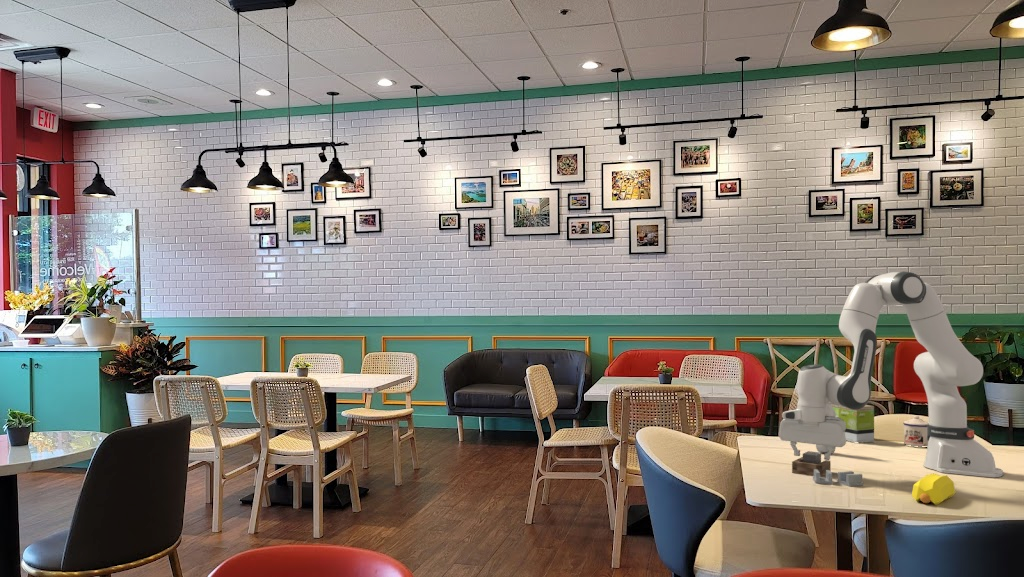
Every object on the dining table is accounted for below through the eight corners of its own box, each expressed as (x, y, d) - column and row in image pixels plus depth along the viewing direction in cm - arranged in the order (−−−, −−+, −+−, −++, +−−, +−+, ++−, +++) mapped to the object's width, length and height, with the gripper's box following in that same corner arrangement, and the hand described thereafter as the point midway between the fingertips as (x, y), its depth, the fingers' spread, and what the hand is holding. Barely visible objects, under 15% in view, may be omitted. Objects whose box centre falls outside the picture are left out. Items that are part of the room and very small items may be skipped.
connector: (824, 466, 241) (824, 450, 241) (815, 471, 233) (815, 455, 233) (812, 464, 243) (812, 449, 244) (802, 469, 236) (802, 453, 236)
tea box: (827, 437, 304) (827, 401, 304) (844, 436, 308) (844, 400, 308) (857, 443, 290) (856, 406, 290) (875, 442, 294) (875, 405, 294)
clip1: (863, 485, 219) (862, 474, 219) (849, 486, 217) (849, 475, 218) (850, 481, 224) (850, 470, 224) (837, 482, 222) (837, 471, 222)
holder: (830, 471, 237) (830, 460, 237) (821, 476, 230) (821, 465, 230) (802, 467, 243) (802, 457, 243) (792, 472, 235) (792, 461, 235)
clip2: (830, 480, 224) (830, 470, 225) (833, 484, 220) (833, 473, 220) (812, 479, 226) (812, 469, 226) (815, 483, 221) (815, 472, 221)
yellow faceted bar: (958, 497, 207) (928, 492, 212) (958, 473, 207) (928, 469, 212) (939, 508, 194) (908, 503, 199) (939, 483, 194) (907, 478, 200)
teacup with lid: (899, 445, 286) (899, 415, 286) (908, 443, 292) (907, 413, 293) (933, 450, 277) (933, 419, 278) (941, 447, 284) (941, 417, 284)
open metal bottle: (818, 450, 273) (818, 397, 274) (837, 453, 269) (837, 398, 270) (814, 453, 268) (813, 398, 269) (833, 455, 264) (833, 400, 265)
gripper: (848, 416, 233) (848, 460, 233) (783, 410, 246) (783, 452, 246) (843, 419, 228) (843, 463, 228) (777, 412, 241) (777, 454, 241)
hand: (811, 457), depth 237 cm, fingers open, 8 cm apart
